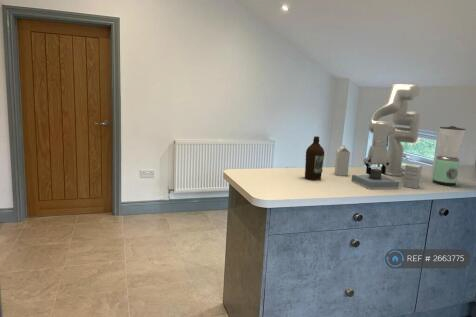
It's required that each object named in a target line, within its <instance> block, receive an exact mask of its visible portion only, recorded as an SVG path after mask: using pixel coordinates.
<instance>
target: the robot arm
mask: <svg viewBox="0 0 476 317" xmlns="http://www.w3.org/2000/svg"><path fill="white" fill-rule="evenodd" d="M419 94H420V86H419V85H418V83H417V84H415V83H392V84H390V85H389V87H388V92H387V94H386V98H385V101H384V104H383V106H381V107H379V108H378V109H377V110H376V111H375V112H373V114H372V116H371V119H370V122H369V125H368V131H369V133H372V142H371V145H370V147H369V150H368V153H367V157H366V158H364V159H363V163H364V165H365V167H366V169H365V171H366V172H365V175H370V174H371V169H372V166H373V165H381V168H380V170H382V174H381V175H386V174H387V176H392V177H402V176H404V174H403V172H404V173H405V168H402V164H403V157H404V146H403V144H402V143H408V144H414V143H416V142H417V141H418V137H419V128H420V121H421V120H420V119H421V118H420V117H421V116H420V114H419V112H418V111H414V110H409V102H408V101H411V102H412V101H414V100H415V99H416V98H418V96H419ZM389 115H392V118H391V119H392V120H391V121H385V120H380V119H381V118H383V117H386V116H389ZM396 125H397V126H396ZM403 126H406V127H403Z"/></svg>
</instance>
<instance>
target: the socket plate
mask: <svg viewBox="0 0 476 317" xmlns="http://www.w3.org/2000/svg"><path fill="white" fill-rule="evenodd" d="M351 182H352V183H354V184H356V185H359V186H362V187H364V188H366V189H368V190H398V189H399V187H400V186H399V185H400V182H399V181H398V180H395V179H393V178H389V177H386V176H383V175H381V179H380V180H373V179H371V178H369V174H359V173H358V174H357V173H355V174H352V175H351Z"/></svg>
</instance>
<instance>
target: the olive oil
mask: <svg viewBox="0 0 476 317" xmlns="http://www.w3.org/2000/svg"><path fill="white" fill-rule="evenodd" d="M312 142H313V143H311V144H310V145H309V146H308V147H307V148H306V150H305V164H304V166H305V169H304V178H305V179H307V180H310V181H320V180H322V173H323V167H324V166H323V165H324V159H325V150H324V148H323V146H322V145H321V144H320V136H318V135H317V136H315V135H314V136H313V141H312Z"/></svg>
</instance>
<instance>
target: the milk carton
mask: <svg viewBox="0 0 476 317" xmlns="http://www.w3.org/2000/svg"><path fill="white" fill-rule="evenodd" d="M350 156H351V152H350V151H349V150H348V148H346V145H345V144H342V146H339V147H337V150H336V155H335V164H334V172H333V173H334V174H335V176H343V177H344V176H345V177H348V175H349V167H350V158H351V157H350Z"/></svg>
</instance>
